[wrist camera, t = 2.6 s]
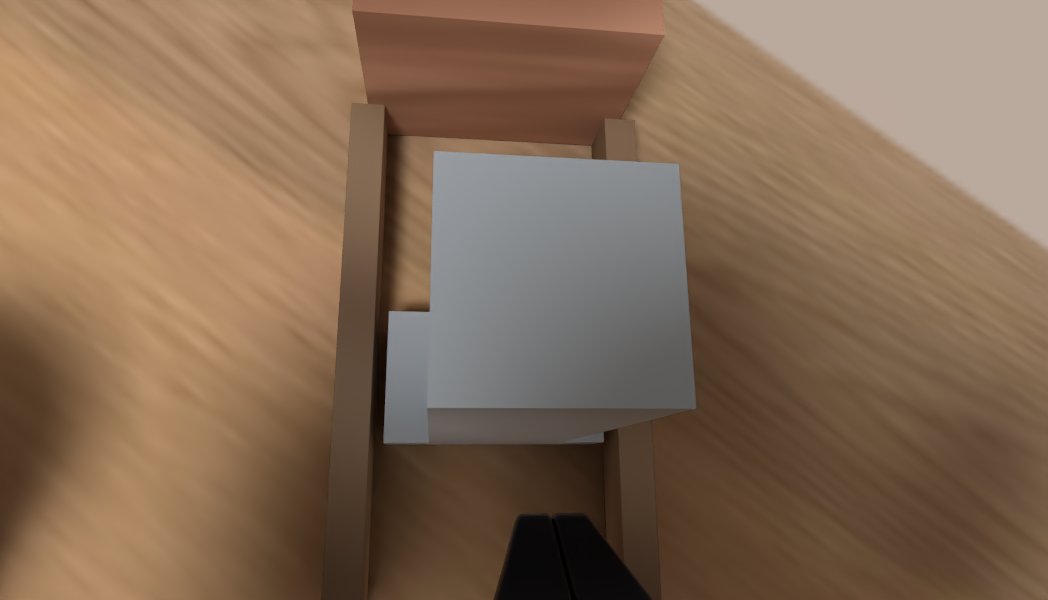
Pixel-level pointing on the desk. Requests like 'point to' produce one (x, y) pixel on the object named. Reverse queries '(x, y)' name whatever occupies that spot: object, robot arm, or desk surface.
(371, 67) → the guide track
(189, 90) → the desk surface
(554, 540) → the robot arm
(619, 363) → the sliding block
